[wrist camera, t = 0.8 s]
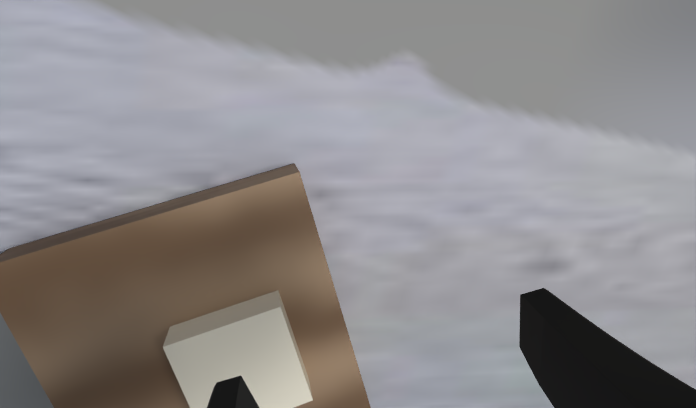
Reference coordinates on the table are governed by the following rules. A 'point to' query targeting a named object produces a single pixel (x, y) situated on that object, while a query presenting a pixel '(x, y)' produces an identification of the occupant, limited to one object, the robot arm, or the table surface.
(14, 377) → the box
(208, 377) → the tile
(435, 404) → the table surface
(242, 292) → the drawer casing
